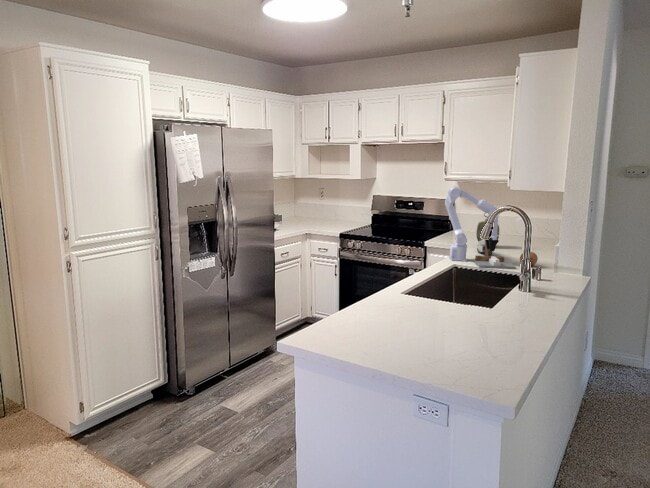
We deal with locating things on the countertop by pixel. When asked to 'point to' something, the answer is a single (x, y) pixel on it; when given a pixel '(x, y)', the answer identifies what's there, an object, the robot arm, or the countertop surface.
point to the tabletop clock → (480, 227)
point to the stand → (494, 264)
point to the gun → (483, 248)
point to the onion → (531, 258)
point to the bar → (486, 258)
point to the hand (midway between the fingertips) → (490, 250)
